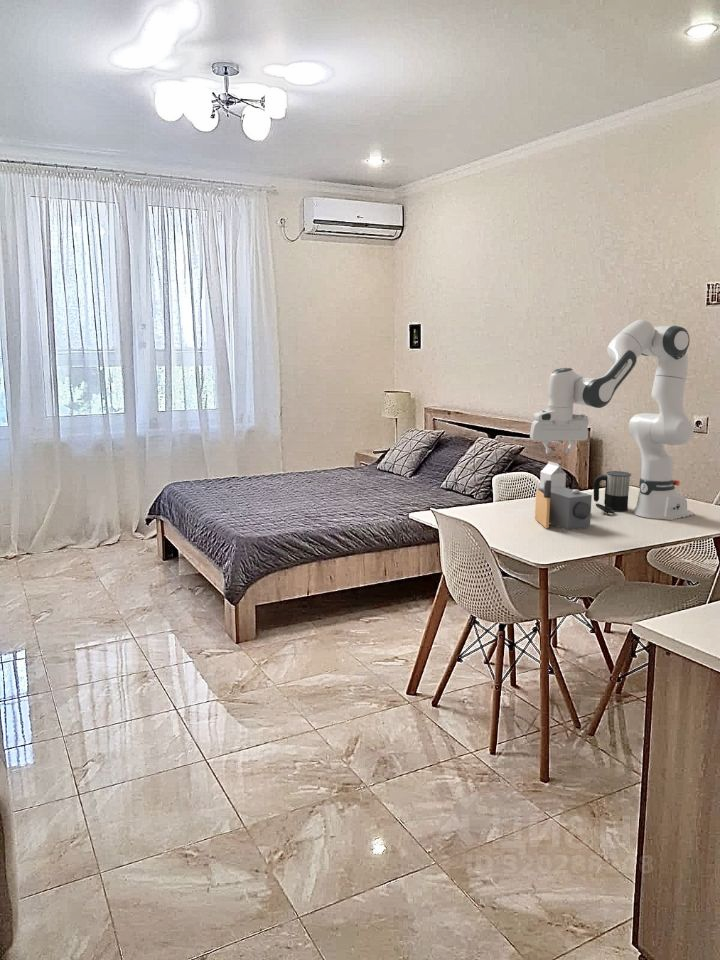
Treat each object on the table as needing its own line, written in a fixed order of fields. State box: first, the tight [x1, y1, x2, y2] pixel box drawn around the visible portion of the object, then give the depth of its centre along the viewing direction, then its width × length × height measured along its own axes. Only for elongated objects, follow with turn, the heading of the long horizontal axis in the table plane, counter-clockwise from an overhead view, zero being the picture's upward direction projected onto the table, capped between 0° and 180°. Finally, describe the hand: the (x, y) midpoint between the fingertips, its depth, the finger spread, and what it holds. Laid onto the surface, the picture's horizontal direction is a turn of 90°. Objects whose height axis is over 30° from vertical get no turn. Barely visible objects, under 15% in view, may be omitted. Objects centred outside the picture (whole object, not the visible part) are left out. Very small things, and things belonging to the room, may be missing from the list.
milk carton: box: [539, 460, 567, 488], centre depth 303 cm, size 7×7×19 cm
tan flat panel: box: [534, 480, 551, 529], centre depth 279 cm, size 2×14×17 cm, turn 3°
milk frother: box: [593, 470, 632, 515], centre depth 300 cm, size 14×16×15 cm
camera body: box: [537, 486, 593, 531], centre depth 281 cm, size 10×20×13 cm, turn 23°
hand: (558, 453), depth 272 cm, fingers open, 6 cm apart
